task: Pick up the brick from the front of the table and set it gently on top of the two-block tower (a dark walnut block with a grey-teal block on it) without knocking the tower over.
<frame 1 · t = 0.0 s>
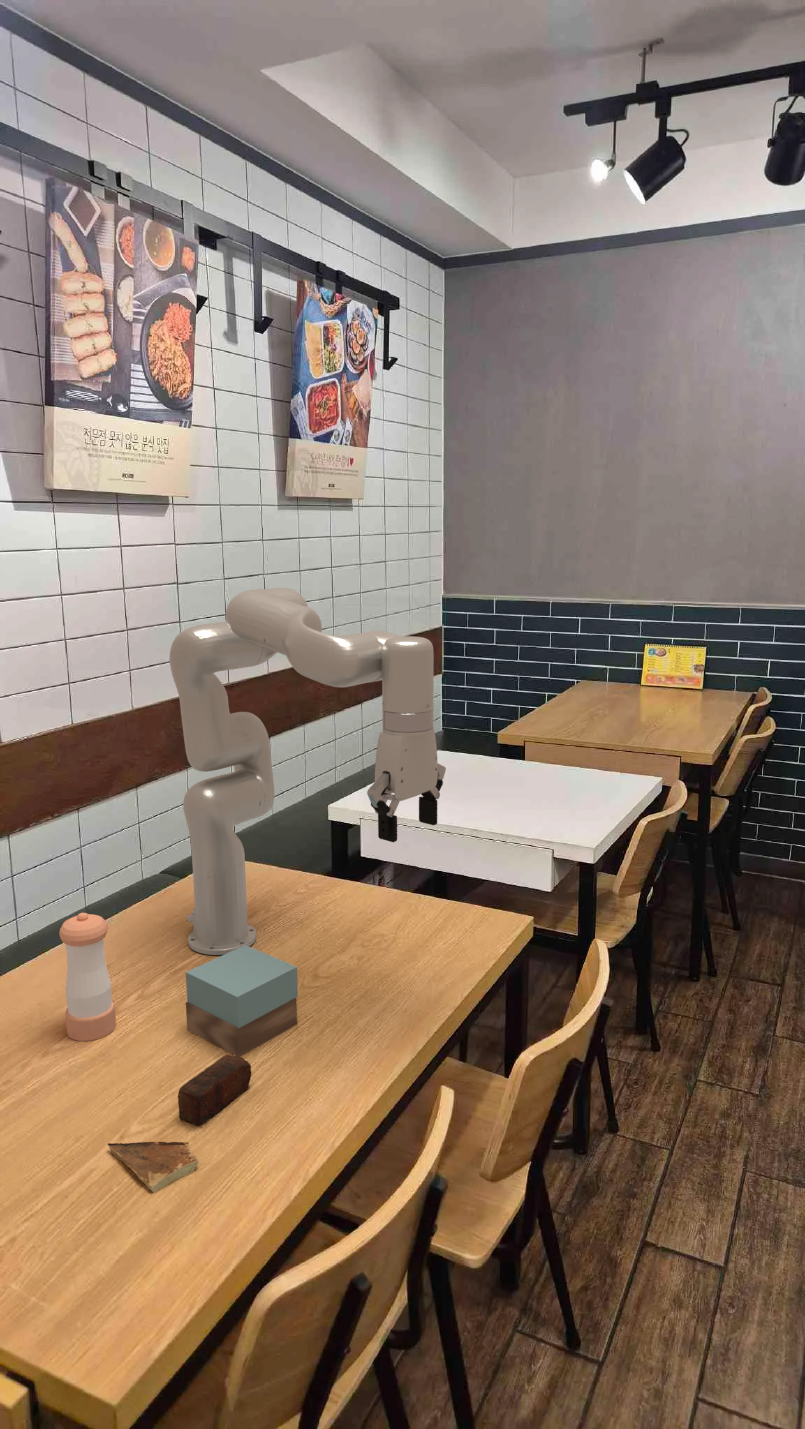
hand: (408, 831, 141), 31 cm above the table, tool pointing down, fingers open, 9 cm apart
brick: (216, 1104, 127), on the table
tower base: (242, 1028, 145), on the table, touching tower top
shard: (149, 1174, 113), on the table
tower top: (242, 999, 144), point 5 cm above the table, touching tower base
salt shaker: (91, 1029, 145), on the table
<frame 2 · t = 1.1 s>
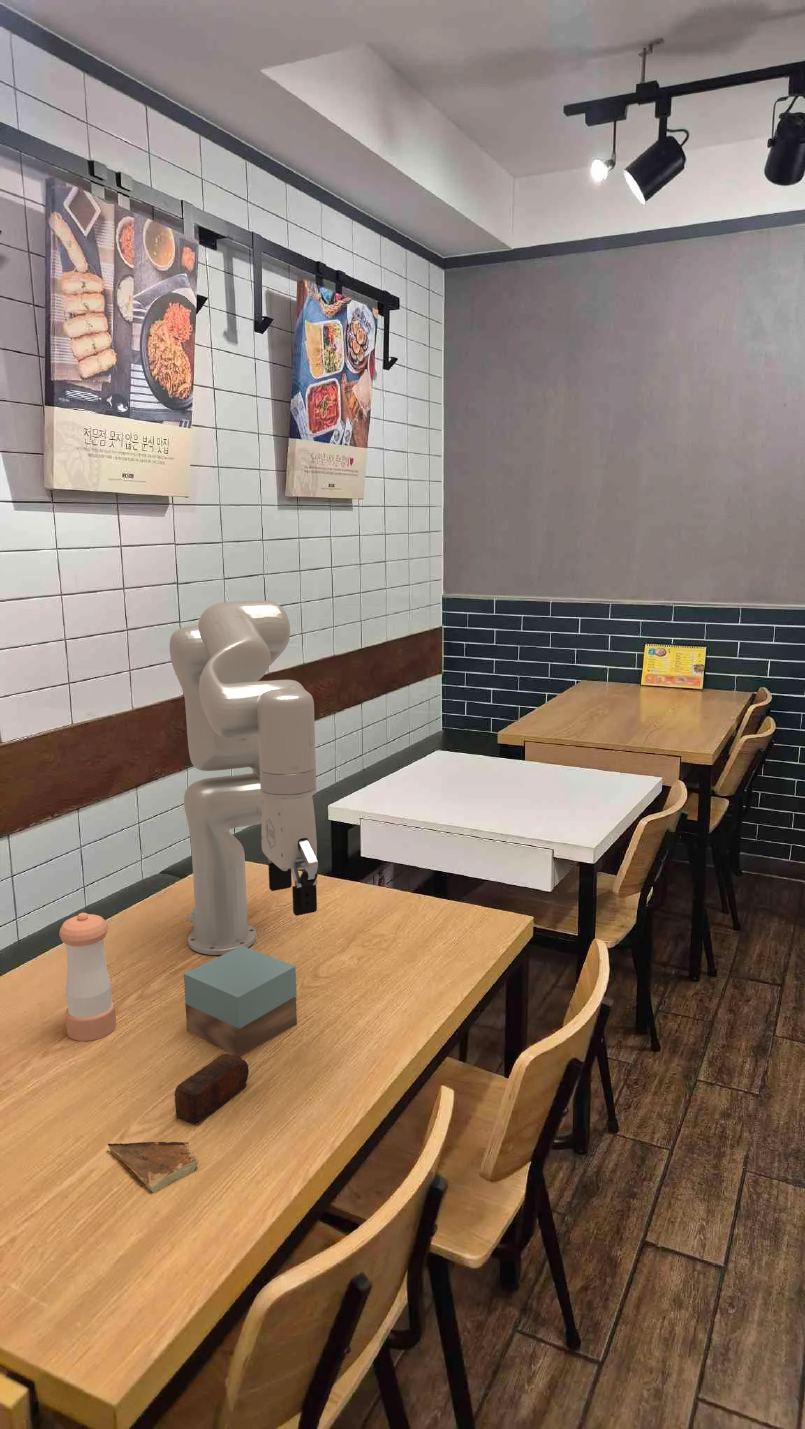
hand: (292, 900, 129), 26 cm above the table, tool pointing down, fingers open, 9 cm apart
tower base: (242, 1029, 145), on the table
tower top: (241, 999, 144), point 5 cm above the table
everything else where it was.
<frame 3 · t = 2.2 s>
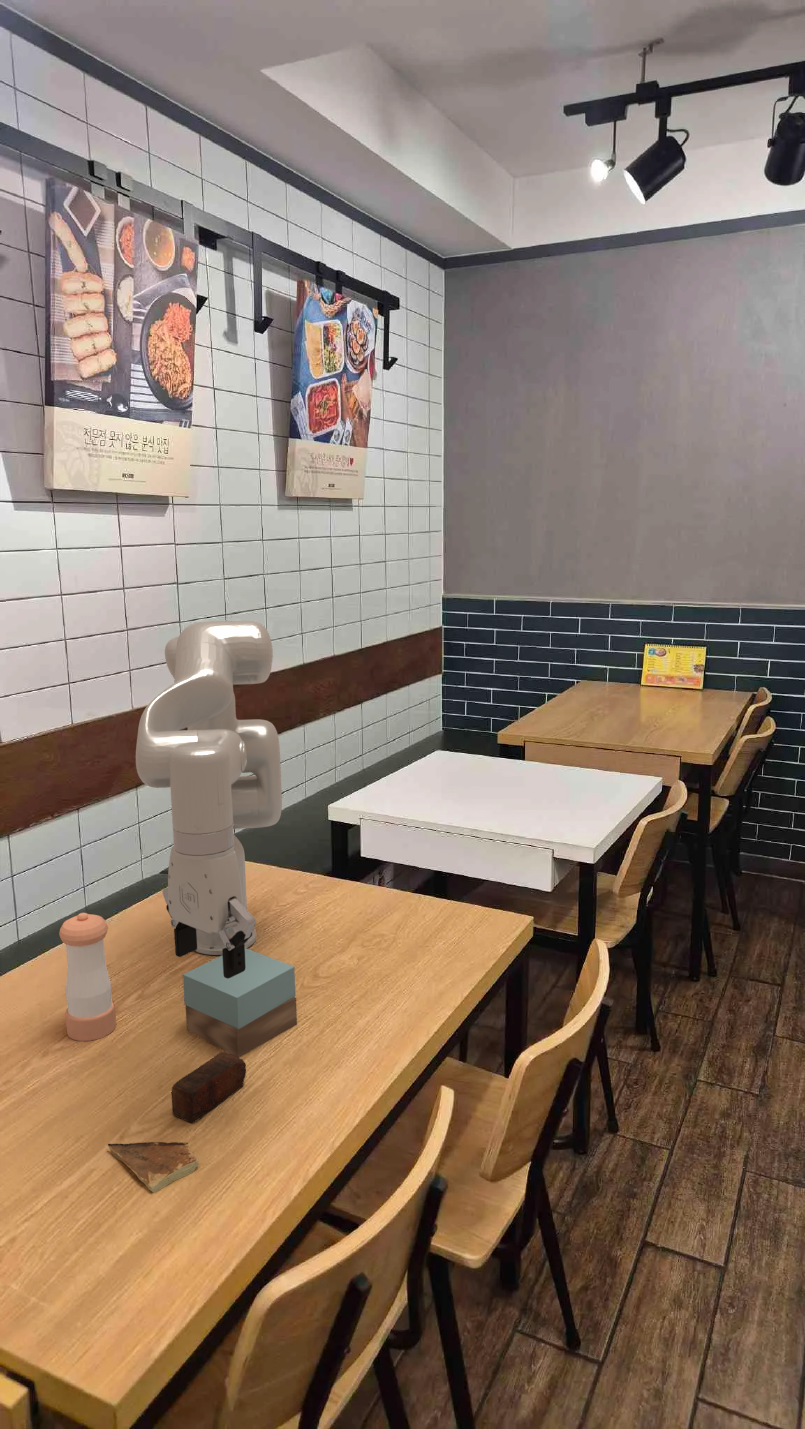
hand: (210, 963, 122), 21 cm above the table, tool pointing down, fingers open, 9 cm apart
tower base: (242, 1029, 145), on the table, touching tower top
tower top: (240, 1000, 144), point 5 cm above the table, touching tower base
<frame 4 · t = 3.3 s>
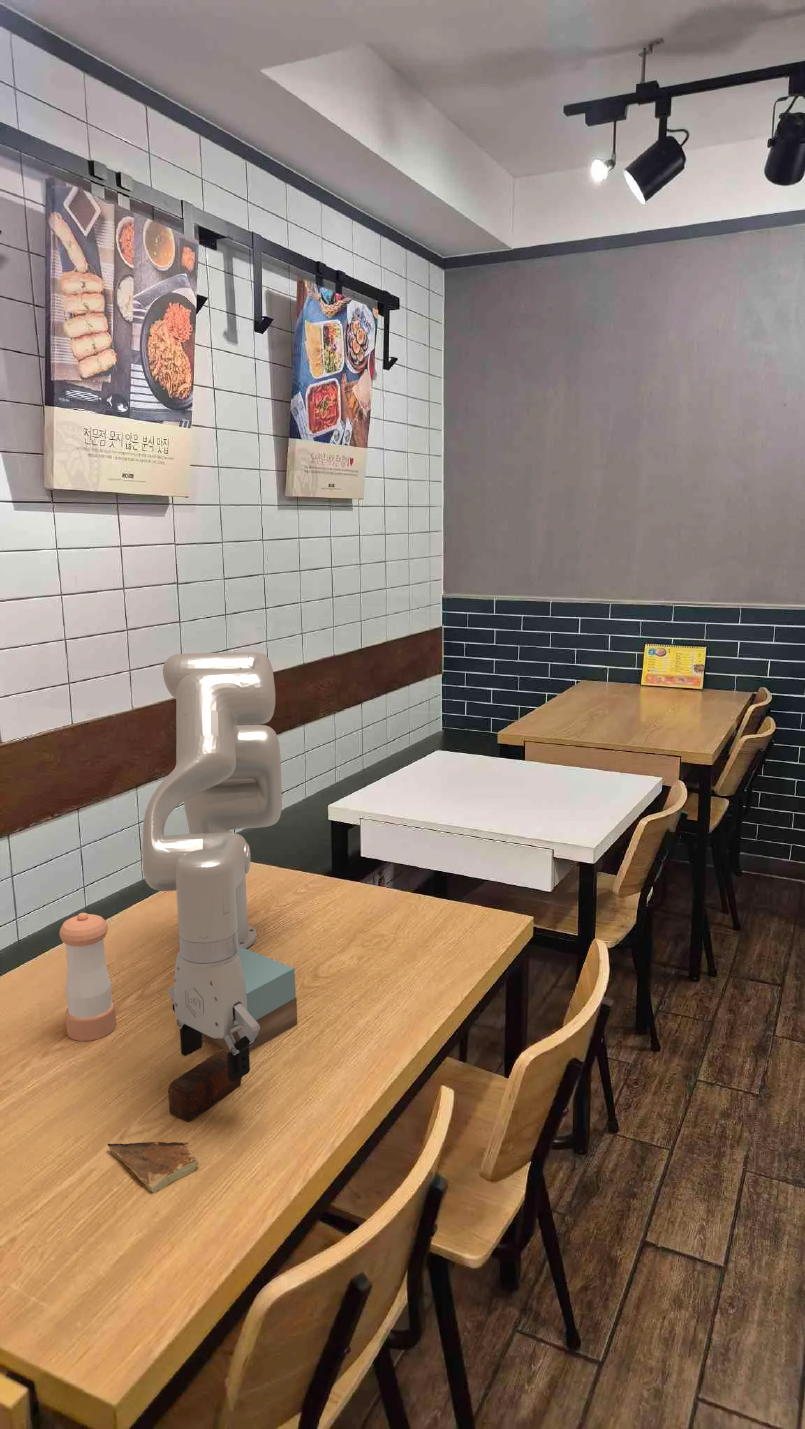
hand: (215, 1063, 125), 6 cm above the table, tool pointing down, fingers open, 9 cm apart
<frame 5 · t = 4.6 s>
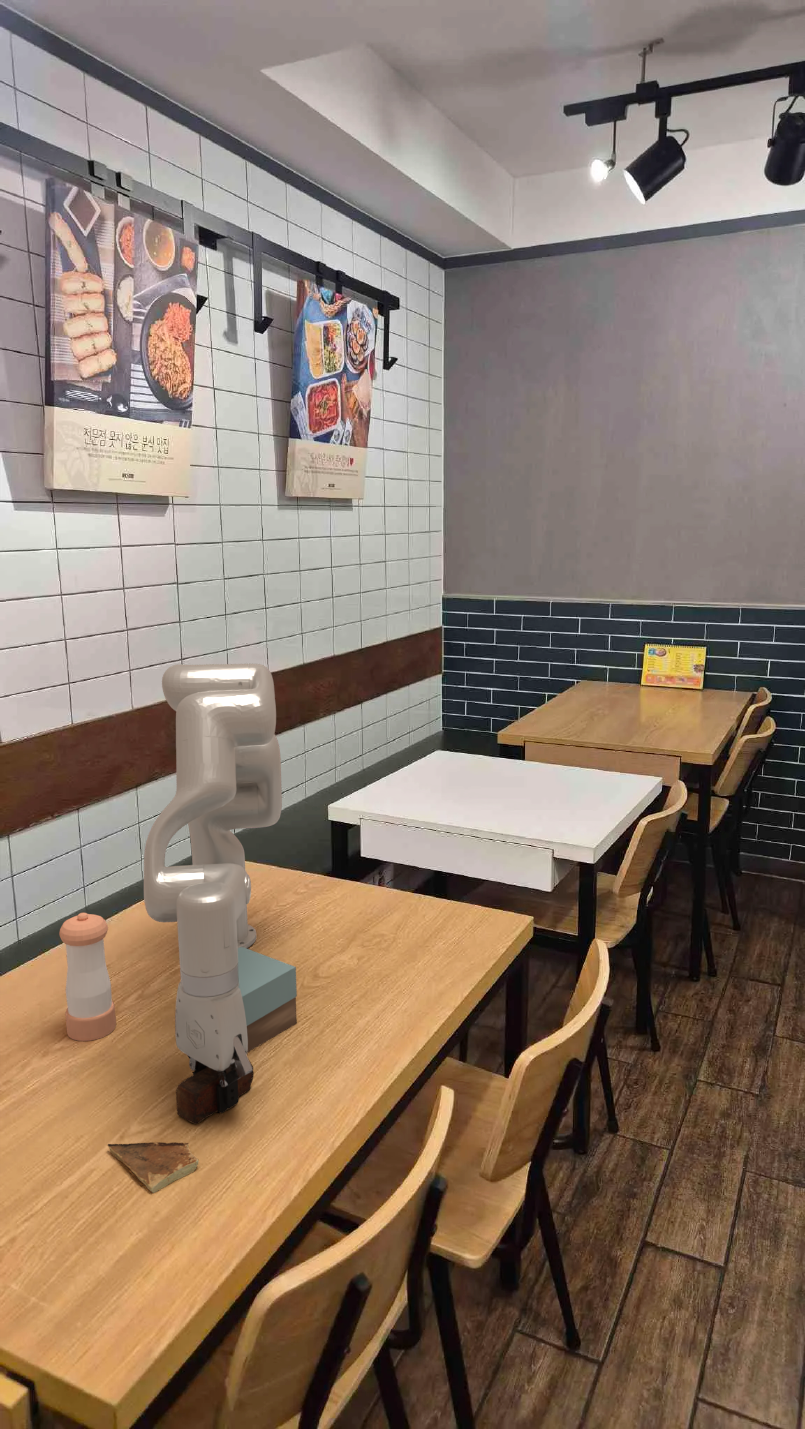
hand: (216, 1099, 126), 0 cm above the table, tool pointing down, fingers closed on brick, 4 cm apart
brick: (216, 1103, 126), on the table, touching gripper
everything else where it was.
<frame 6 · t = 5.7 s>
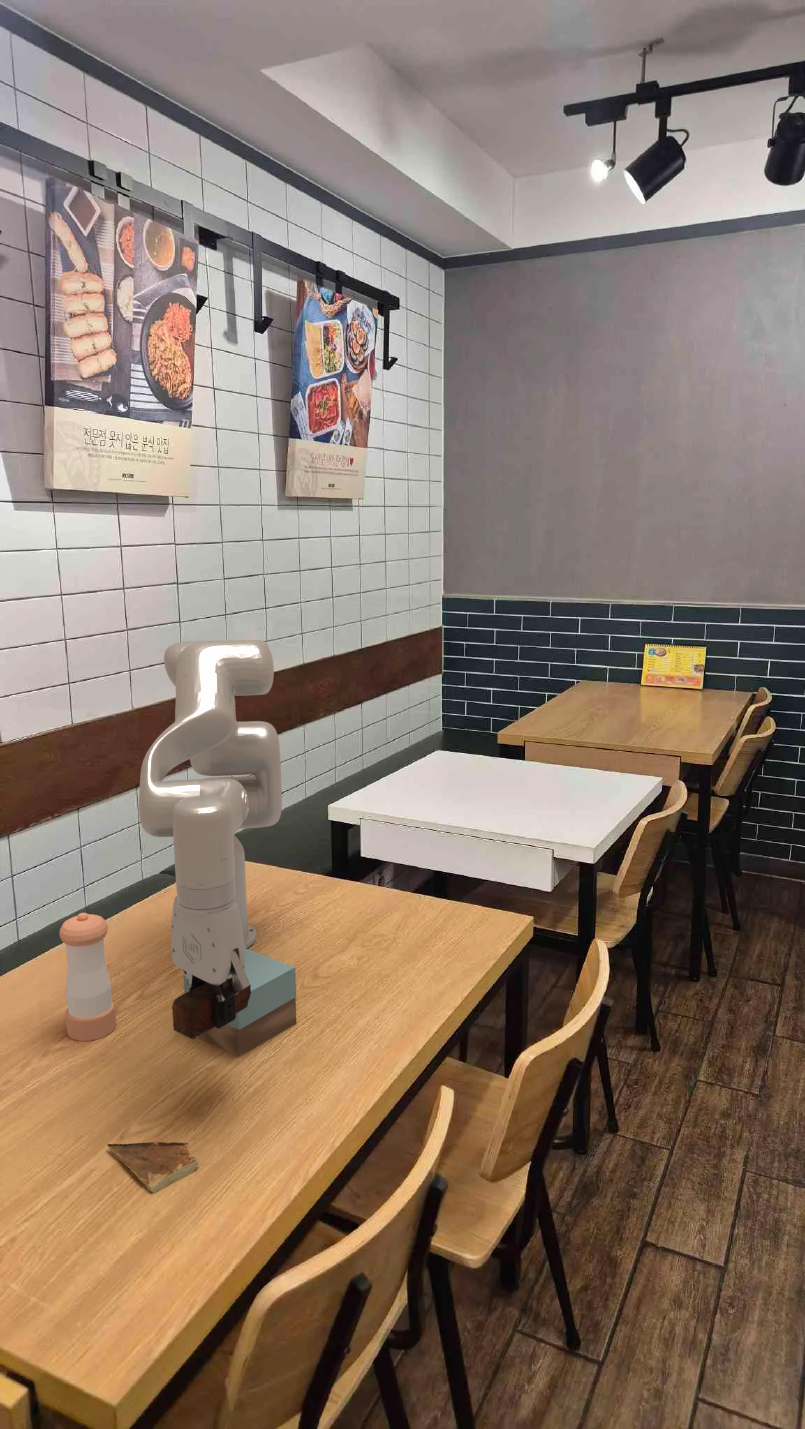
hand: (213, 1015, 125), 12 cm above the table, tool pointing down, fingers closed on brick, 4 cm apart
brick: (213, 1020, 125), point 12 cm above the table, touching gripper
everything else where it was.
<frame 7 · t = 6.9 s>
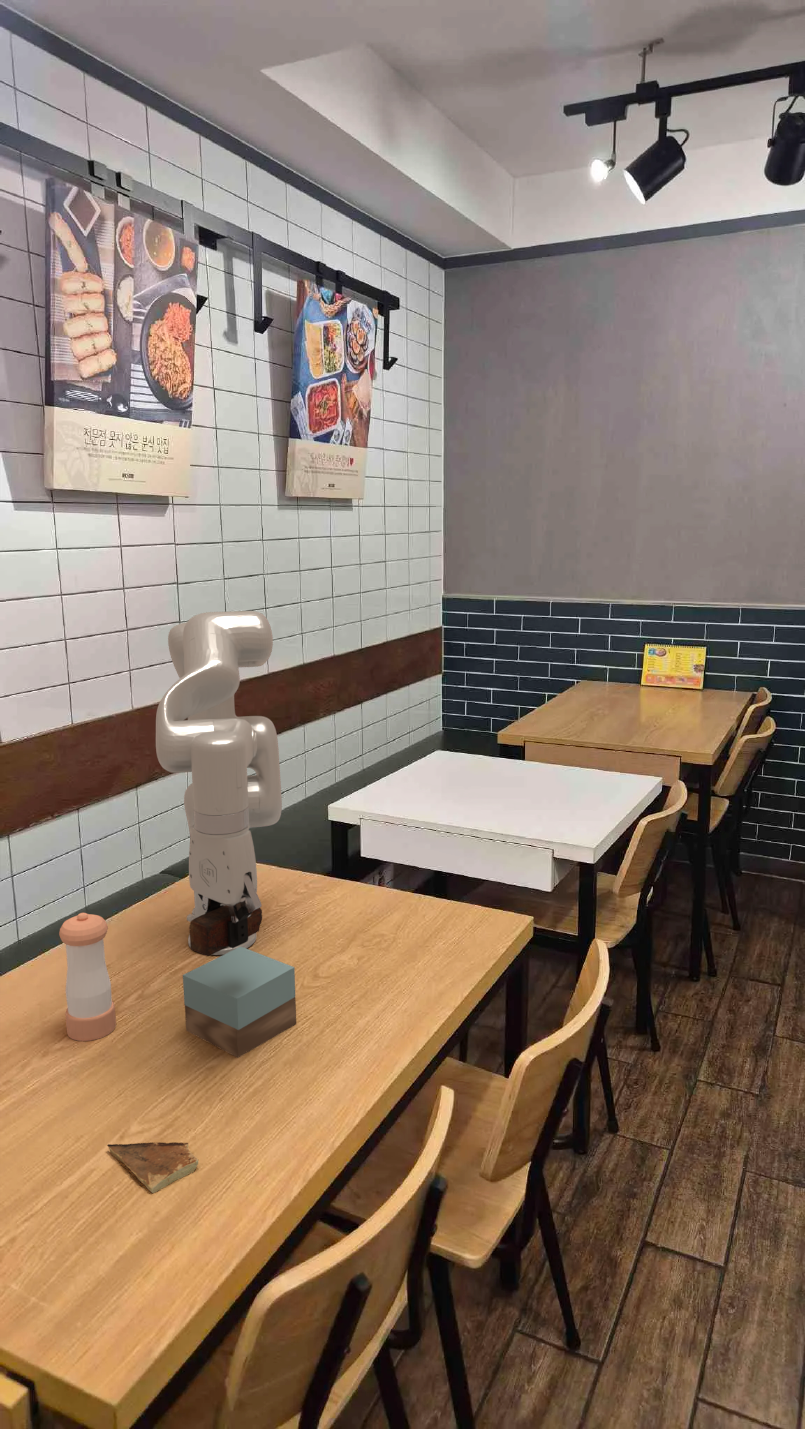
hand: (227, 938, 134), 18 cm above the table, tool pointing down, fingers closed on brick, 4 cm apart
brick: (227, 941, 134), point 18 cm above the table, touching gripper
everything else where it was.
when the fingers open (12 cm above the table, at t = 9.9 s): brick drops 2 cm, resting on tower top.
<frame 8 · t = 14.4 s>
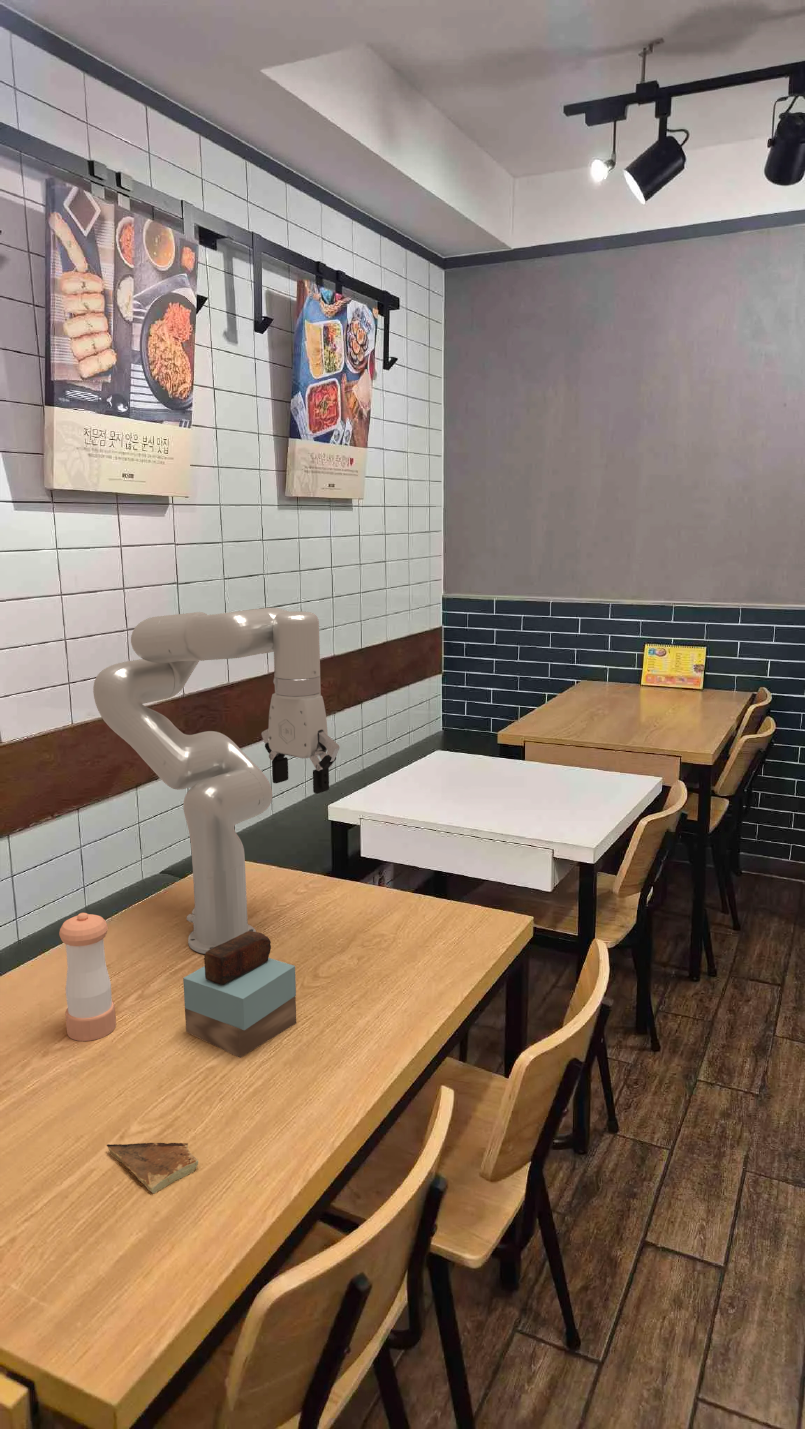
hand: (300, 786, 157), 33 cm above the table, tool pointing down, fingers open, 9 cm apart
brick: (238, 971, 143), point 9 cm above the table, touching tower top
tower top: (241, 1001, 144), point 5 cm above the table, touching brick, tower base
everything else where it was.
at the end: brick point 9.4 cm above the table; brick 0.2 cm from the tower base (horizontally); tower top point 4.6 cm above the table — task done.
